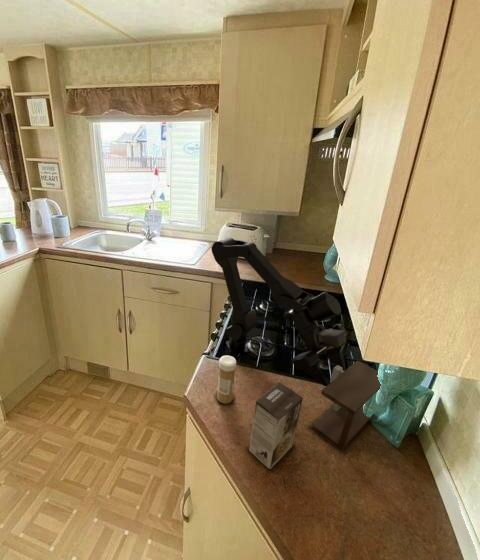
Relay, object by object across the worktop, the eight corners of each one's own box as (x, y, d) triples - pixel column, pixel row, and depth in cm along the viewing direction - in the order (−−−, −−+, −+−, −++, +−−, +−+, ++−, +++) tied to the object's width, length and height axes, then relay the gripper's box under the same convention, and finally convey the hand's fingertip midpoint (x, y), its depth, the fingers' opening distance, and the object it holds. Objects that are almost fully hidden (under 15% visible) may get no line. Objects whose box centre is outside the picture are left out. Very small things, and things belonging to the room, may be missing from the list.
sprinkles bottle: (235, 398, 89) (240, 360, 83) (225, 406, 86) (228, 368, 80) (223, 389, 92) (226, 352, 86) (213, 397, 89) (215, 359, 83)
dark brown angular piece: (311, 428, 80) (321, 390, 75) (346, 396, 90) (357, 360, 85) (341, 451, 75) (354, 411, 69) (374, 413, 85) (388, 376, 79)
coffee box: (270, 429, 80) (279, 380, 73) (292, 447, 75) (304, 396, 68) (247, 450, 74) (254, 399, 67) (269, 470, 70) (280, 418, 63)
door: (320, 400, 87) (327, 372, 82) (335, 387, 91) (343, 360, 87) (336, 411, 83) (345, 382, 79) (351, 397, 88) (360, 369, 84)
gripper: (310, 330, 77) (343, 390, 74) (348, 307, 88) (377, 359, 85) (279, 340, 86) (307, 395, 83) (317, 319, 97) (342, 366, 94)
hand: (335, 378), depth 86 cm, fingers open, 9 cm apart
